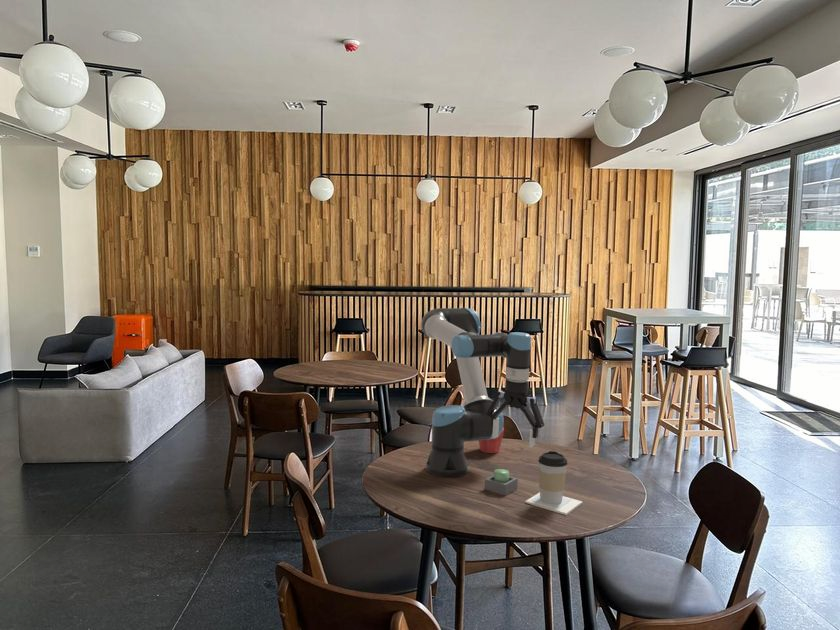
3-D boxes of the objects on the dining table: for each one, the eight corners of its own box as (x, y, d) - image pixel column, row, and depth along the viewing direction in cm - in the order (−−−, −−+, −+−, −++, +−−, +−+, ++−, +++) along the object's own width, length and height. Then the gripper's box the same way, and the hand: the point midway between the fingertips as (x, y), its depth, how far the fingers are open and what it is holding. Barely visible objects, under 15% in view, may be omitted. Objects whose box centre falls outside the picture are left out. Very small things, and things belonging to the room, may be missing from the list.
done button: (490, 483, 202) (491, 471, 202) (498, 479, 206) (499, 468, 205) (503, 487, 199) (504, 475, 198) (511, 482, 203) (511, 471, 202)
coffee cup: (565, 507, 187) (568, 460, 186) (536, 504, 189) (538, 457, 187) (565, 496, 196) (567, 451, 194) (536, 493, 198) (538, 448, 196)
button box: (484, 489, 202) (484, 479, 202) (496, 482, 208) (497, 472, 208) (505, 495, 197) (505, 485, 197) (517, 488, 203) (517, 478, 203)
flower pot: (488, 444, 251) (488, 422, 250) (508, 451, 243) (509, 427, 242) (470, 449, 244) (471, 426, 243) (491, 456, 236) (492, 432, 235)
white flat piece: (525, 502, 191) (525, 500, 191) (542, 492, 201) (542, 490, 200) (566, 515, 183) (566, 513, 182) (582, 503, 192) (582, 501, 192)
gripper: (478, 375, 201) (475, 436, 204) (547, 388, 186) (542, 454, 189) (489, 371, 207) (486, 431, 210) (557, 384, 193) (552, 448, 195)
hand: (513, 442), depth 200 cm, fingers open, 13 cm apart
